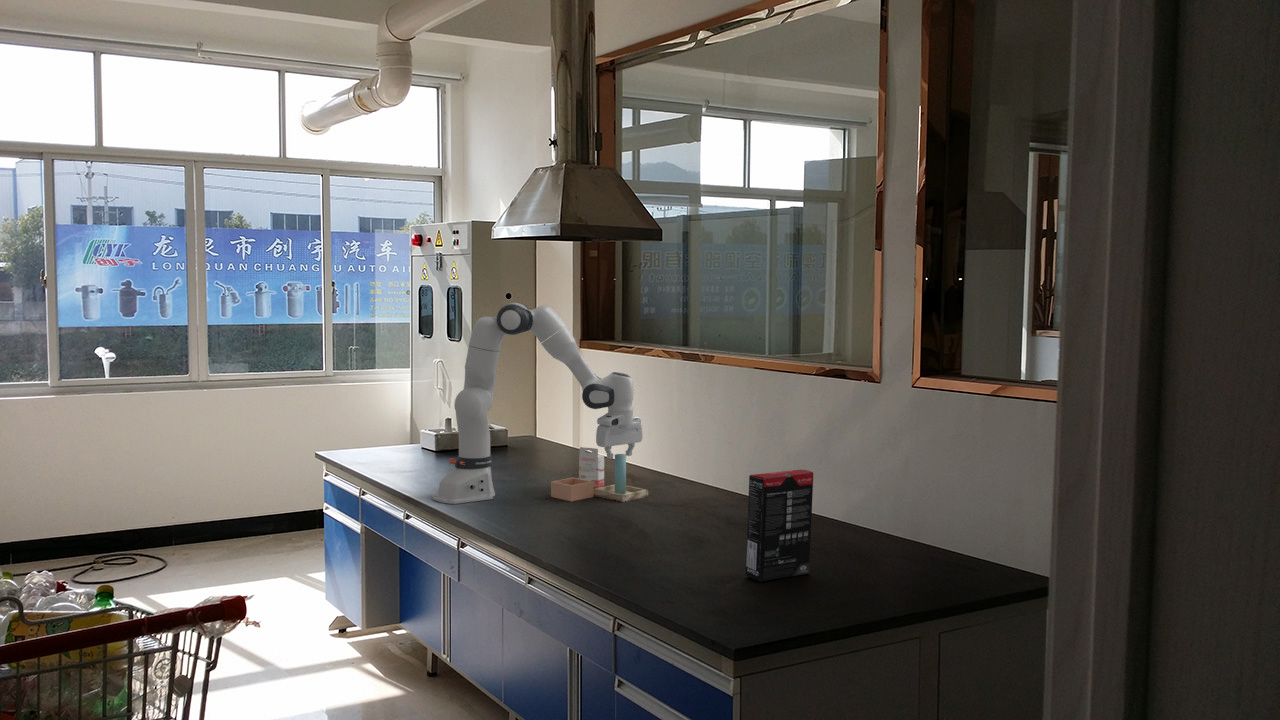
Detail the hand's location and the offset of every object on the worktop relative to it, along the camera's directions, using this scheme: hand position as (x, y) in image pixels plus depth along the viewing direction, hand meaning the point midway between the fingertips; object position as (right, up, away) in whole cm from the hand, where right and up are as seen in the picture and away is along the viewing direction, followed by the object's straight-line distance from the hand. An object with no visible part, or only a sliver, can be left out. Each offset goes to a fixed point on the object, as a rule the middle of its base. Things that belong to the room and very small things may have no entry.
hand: (619, 457), depth 351 cm
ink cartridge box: (-11, -13, +18) cm, 25 cm away
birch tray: (0, -14, +1) cm, 14 cm away
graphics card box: (+43, -22, -94) cm, 106 cm away
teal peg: (0, -13, +1) cm, 13 cm away
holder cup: (-17, -14, -1) cm, 22 cm away
